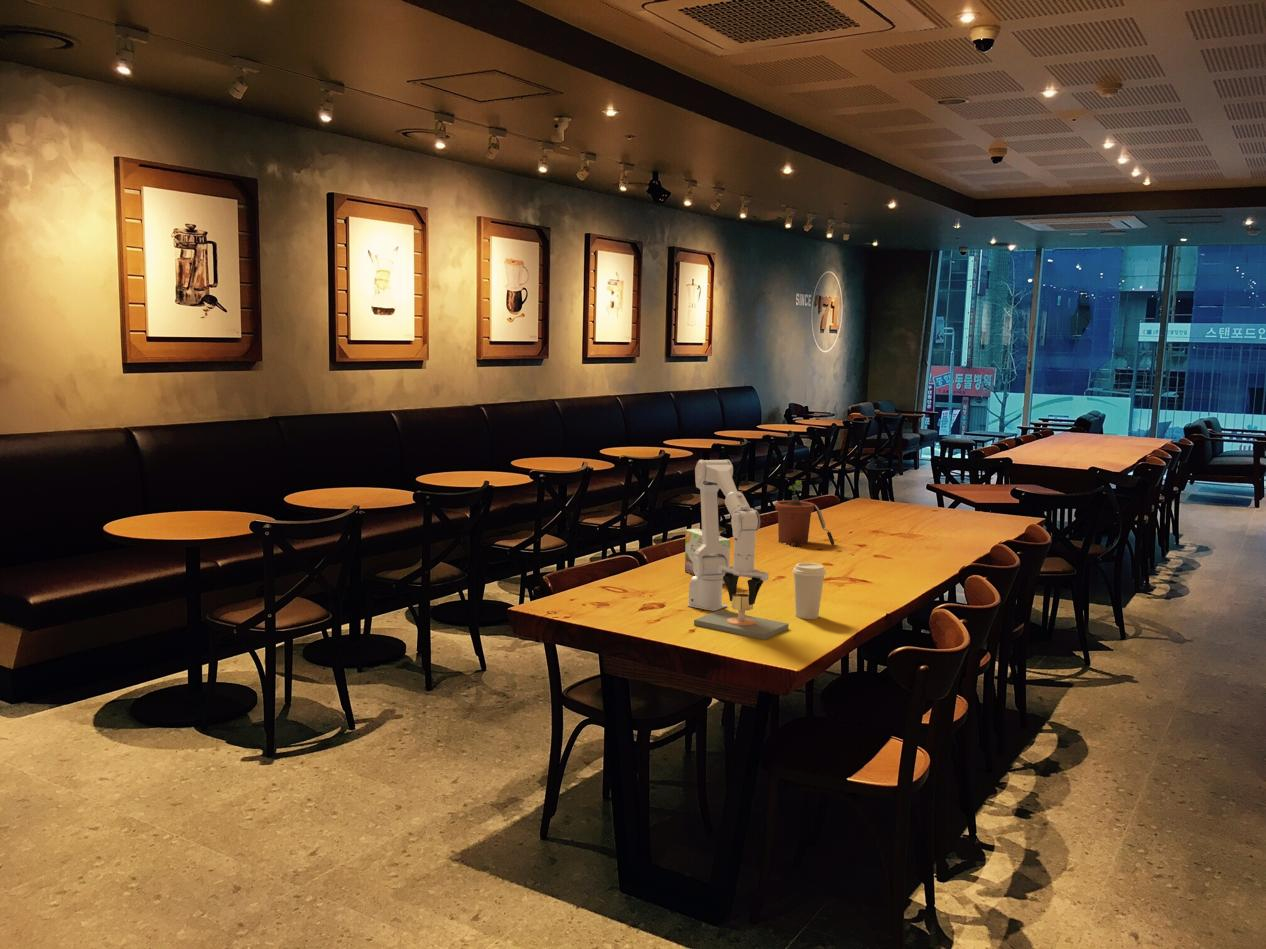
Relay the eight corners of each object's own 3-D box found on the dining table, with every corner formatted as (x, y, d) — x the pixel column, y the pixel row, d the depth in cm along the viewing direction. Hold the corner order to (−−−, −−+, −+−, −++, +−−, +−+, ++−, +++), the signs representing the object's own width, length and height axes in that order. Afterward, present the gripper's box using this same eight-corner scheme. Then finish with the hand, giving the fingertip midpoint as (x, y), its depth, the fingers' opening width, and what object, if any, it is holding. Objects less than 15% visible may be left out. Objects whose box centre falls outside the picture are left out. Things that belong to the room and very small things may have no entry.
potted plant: (789, 536, 419) (792, 477, 416) (835, 544, 405) (838, 483, 402) (765, 542, 406) (768, 480, 403) (811, 550, 392) (814, 486, 389)
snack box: (683, 572, 347) (684, 528, 345) (697, 570, 350) (698, 528, 348) (715, 585, 328) (717, 540, 326) (730, 584, 331) (732, 539, 329)
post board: (693, 625, 280) (694, 603, 279) (719, 615, 291) (720, 594, 291) (764, 639, 267) (765, 617, 267) (788, 628, 279) (789, 607, 278)
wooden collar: (728, 608, 278) (728, 595, 278) (738, 604, 283) (738, 591, 282) (746, 611, 275) (746, 598, 274) (755, 607, 279) (756, 595, 279)
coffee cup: (819, 612, 298) (822, 562, 296) (826, 620, 288) (829, 569, 286) (787, 611, 297) (790, 561, 296) (793, 620, 288) (796, 568, 286)
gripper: (713, 552, 278) (712, 600, 279) (760, 559, 269) (758, 609, 271) (726, 548, 283) (724, 595, 285) (773, 556, 275) (770, 604, 277)
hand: (742, 602), depth 278 cm, fingers closed on wooden collar, 5 cm apart
